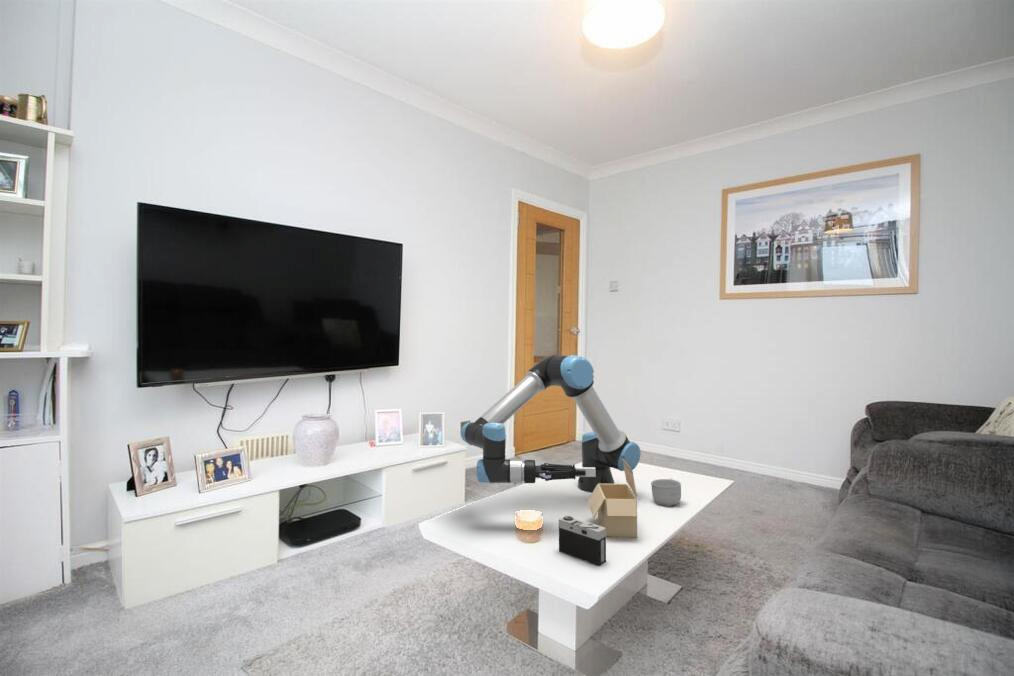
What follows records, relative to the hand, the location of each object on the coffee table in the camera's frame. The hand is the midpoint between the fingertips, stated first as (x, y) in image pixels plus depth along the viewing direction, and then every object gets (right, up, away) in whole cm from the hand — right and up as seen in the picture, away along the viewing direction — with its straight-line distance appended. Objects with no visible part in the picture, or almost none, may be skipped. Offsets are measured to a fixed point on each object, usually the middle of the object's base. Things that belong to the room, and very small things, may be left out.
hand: (595, 472), depth 160 cm
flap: (+12, -6, 0) cm, 13 cm away
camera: (-6, -19, -19) cm, 27 cm away
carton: (+5, -19, +1) cm, 19 cm away
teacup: (+32, -19, +26) cm, 45 cm away
